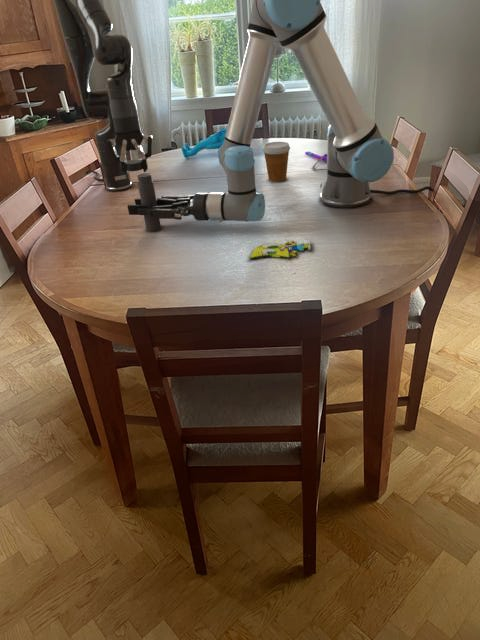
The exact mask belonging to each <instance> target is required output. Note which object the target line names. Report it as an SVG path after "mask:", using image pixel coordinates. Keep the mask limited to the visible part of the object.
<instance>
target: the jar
mask: <svg viewBox="0 0 480 640" xmlns="http://www.w3.org/2000/svg"><path fill="white" fill-rule="evenodd" d="M136 177H137V181H138V182H137V187H138V193H139V197H140V198H139V199H141V204H142V205H148V204H150V206H157V201H156V200H157V195H156V189H155V184H154V183H155V182H154V180H153V176H152V174H151V173H149V172H142V173H139V174H137V175H136ZM143 220H144V225H145V229H146V231H147V232H150V233H153V232H158V231H160V230H161V229H162V224H161V221H160V220H161V219H151V218H149V215H143Z"/></svg>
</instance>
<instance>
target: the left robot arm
mask: <svg viewBox="0 0 480 640" xmlns="http://www.w3.org/2000/svg"><path fill="white" fill-rule="evenodd" d="M52 2H53V5H54V9H55V13H56V16H57V20H58V23H59V27H60V31H61V35H62V38H63V42H64V44H65V48H66V50H67V54H68V56H69V60H70V61H71V66H72V69H73V72H74V76H75V80H76V83H77V84H76V85H77V87H78V92H79V96H80V100H81V105H82V109H83V111H84V114H85V116H86V118H87V119H88V120H89V121H101V120H108V124H106V126H104V127H103V128H100V129H98V130H97V131H95V132H94V139H95V143H96V147H97V153H98V156H99V160H100V162H99V163H98V164H99V168H100V173H101V177H102V178H98V177H99V176H100V173H99V172H98V171H96V170H93V169H88V170H86V171H85V175H88V174H89V173H93V174H95V175H94V176H93V180H95V181H98V182H103V185H104V189H106V190H107V191H111V192H120V191H124V190H127V189H130V188H132V187H133V184H132V179H131V175H130V171H127V169H126V162H127V161H128V160H127V152H128V151H137V153H138V155H139V156H140V158H141V160H142V165H143V169H142V170H143V173H147V171H148V169H149V164H148V158H151V157H152V154H153V135H151V134H150V135H144V133H143V131H142V130H141V124H140V119H139V109H138V106H137V102H136V100H135V95H134V90H133V84H132V65H133V48H132V44H131V41H130V40H129V38H128V37H127V36H126V35H124V34H111V35H109V34H110V33H111V32H112V29H113V23H112V20H111V18H110V16H109V14H108V12H107V11H106V8H105V7H104V5H103V3H102V1H101V0H75V2H74V1H73V0H52ZM95 61H96V62H97V63H98V64H99V65H101V66H103V67H107V66H115V65H117V69H116V72H114V73H113V74H110V75H107V77H106V78H105V86H106V88H104V89H94V90H91V89H90V75H91V71H92V67H93V65H94V62H95ZM143 140H144V142H145V144H147V150H146V152H145V151H144V149H143V147H142V142H143Z"/></svg>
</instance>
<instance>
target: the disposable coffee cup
mask: <svg viewBox="0 0 480 640" xmlns="http://www.w3.org/2000/svg"><path fill="white" fill-rule="evenodd" d="M290 149H291V146H290V144H289V142H286V141H272V142H266V143H265V144H263V148H262V151H263V153H264V159H265V165H266V171H267V178H268V182H272V183H273V182H274V183H278V182H279V183H280V182H283V181H286V180H287V174H288V165H289V155H290V154H289V153H290Z"/></svg>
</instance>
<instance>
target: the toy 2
mask: <svg viewBox="0 0 480 640" xmlns="http://www.w3.org/2000/svg"><path fill="white" fill-rule="evenodd" d="M287 245H288V246H287ZM305 250H307V251H309V252H311V251H312V242H311V240H309V241H308V243H306V244H304V242H302V243H299V244H296V243H295V241H294V240H291V241H286V242H285V244H283V243H276V242H268V243H263V244H261V245H258V246H256V248H254V250H253V251H252V252H251V255H250V257H249V260H256V259H260V258H281V259H287V260H290V259H291V257H292V258H296V257H297V254H298V252H301V253H303V252H304V251H305Z"/></svg>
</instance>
